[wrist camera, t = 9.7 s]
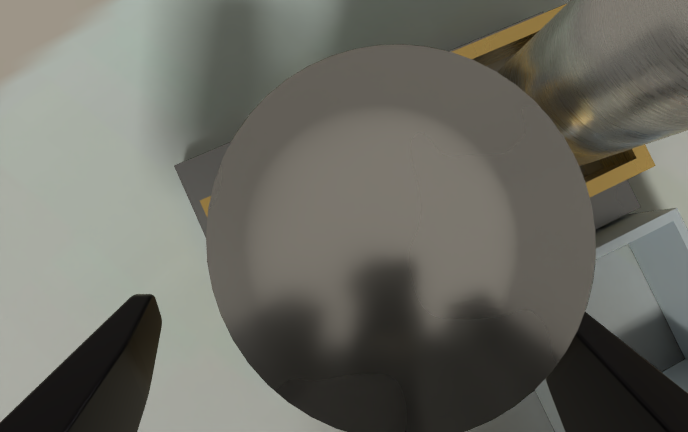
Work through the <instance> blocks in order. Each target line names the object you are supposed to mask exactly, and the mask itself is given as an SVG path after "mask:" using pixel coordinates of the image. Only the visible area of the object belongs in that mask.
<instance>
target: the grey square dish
mask: <svg viewBox="0 0 688 432" xmlns="http://www.w3.org/2000/svg"><path fill="white" fill-rule="evenodd" d="M595 236H596V259H595V260H597V259H599V258H601V257H603V256H605V255H607V254H609V253H611V252H613V251H615V250H617V249H619V248H621V247H623V246H625V245H627V244H629V246H630V248H631V250H632V252H633V254H634V256H635V258H636V260H637V262H638V264H639V266H640V268H641V270H642V272H643V274H644V276H645V278H646V280H647V282H648V284H649V286H650V288H651V290H652V292H653V294H654V296H655V298H656V300H657V302H658V304H659V306H660V308H661V310H662V312H663V314H664V316H665V318H666V320H667V322H668V324H669V326H670V328H671V330H672V332H673V334H674V336H675V339H676V341H677V343H678V345H679V347H680V349H681V351H682V353H683V355H684V357H685V360H683V361H681V362H679V363H678V364H676V365H674V366H672V367H670V368H669V369H667V370H665V371H663V372H662V373H663V374H664V375H666V376H667V377H668V378H669V379H671V380H672V381H673V382H674V383H676V384H677V385H678V386H679V387H681V388H682V389H683V390H685V391H686V392H687V393H688V229H687V227H686V225H685V223H684V221H683V219H682V217H681V215H680V213H679V211H678V209H677V208H672V209H665V210H657V211H650V212H642V213H635V214H627V215H624V216H622V217H620V218H618V219H616V220H614V221H612V222H610V223H608V224H606V225H604V226H602V227H600V228H598V229H596V230H595ZM535 391H536V394H537V396H538V398H539V400H540V402H541V404H542V406H543V408H544V410H545V413H546V415H547V417H548V419H549V421H550V423H551V425H552V427H553V429H554V431H555V432H565V430H564V427H563V425H562V422H561V420H560V417H559V414H558V412H557V409H556V406H555V404H554V401H553V399H552V396H551V393H550V391H549V388H548V385H547V382H546V379H544V381H543V382H542V383H541V384H540V385H539V386H538V387H537V388H536V389H535Z"/></svg>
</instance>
